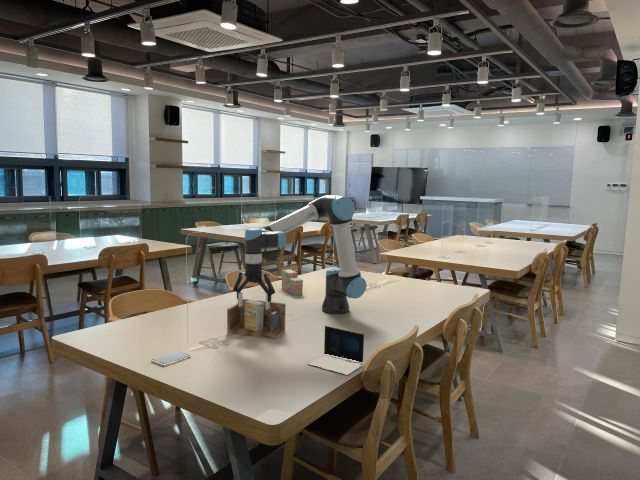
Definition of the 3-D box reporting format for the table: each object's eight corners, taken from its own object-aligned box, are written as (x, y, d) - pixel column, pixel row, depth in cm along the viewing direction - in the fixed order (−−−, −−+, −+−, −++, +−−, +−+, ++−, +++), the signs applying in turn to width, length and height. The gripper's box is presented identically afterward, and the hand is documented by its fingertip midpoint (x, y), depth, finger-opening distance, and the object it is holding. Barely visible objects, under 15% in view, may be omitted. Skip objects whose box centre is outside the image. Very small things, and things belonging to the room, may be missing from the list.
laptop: (307, 365, 184) (307, 333, 182) (324, 356, 195) (325, 325, 193) (347, 377, 175) (348, 343, 173) (363, 366, 185) (364, 334, 183)
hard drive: (164, 364, 179) (191, 354, 189) (151, 358, 183) (178, 349, 193) (164, 368, 179) (191, 358, 189) (151, 362, 184) (178, 353, 194)
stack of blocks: (302, 294, 296) (303, 275, 294) (293, 295, 293) (293, 275, 292) (290, 287, 315) (290, 268, 313) (281, 287, 312) (281, 269, 311)
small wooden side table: (285, 331, 224) (285, 303, 222) (275, 339, 212) (275, 309, 211) (238, 325, 231) (239, 298, 229) (227, 332, 219) (227, 304, 217)
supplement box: (243, 328, 221) (243, 301, 220) (251, 326, 225) (251, 299, 223) (256, 332, 216) (256, 304, 215) (263, 329, 220) (264, 302, 218)
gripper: (225, 262, 217) (225, 307, 220) (275, 265, 210) (276, 312, 213) (232, 259, 224) (233, 303, 227) (282, 262, 217) (282, 307, 220)
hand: (254, 307), depth 220 cm, fingers open, 13 cm apart
